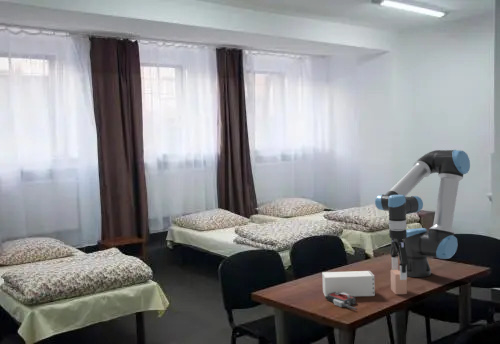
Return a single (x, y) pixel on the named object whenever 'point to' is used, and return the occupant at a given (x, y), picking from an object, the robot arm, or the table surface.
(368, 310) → the table surface
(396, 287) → the peach rectangular block
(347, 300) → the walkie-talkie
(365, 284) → the block
